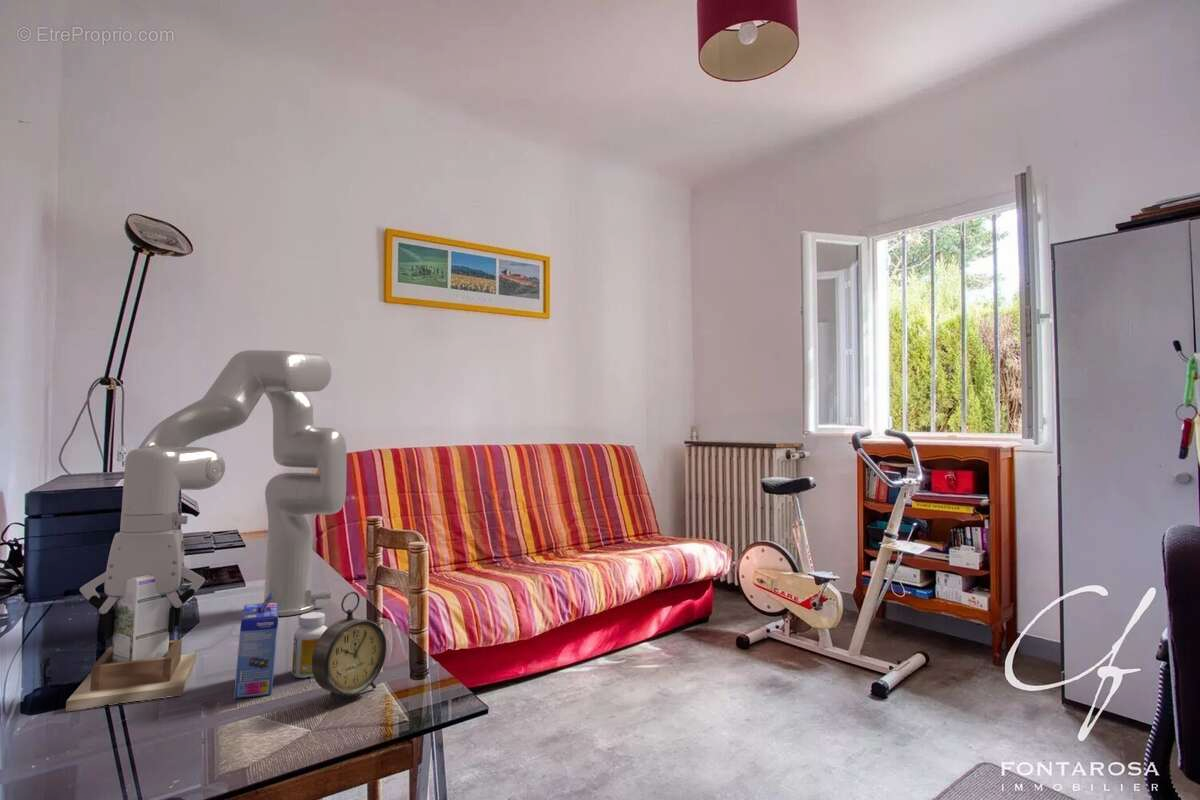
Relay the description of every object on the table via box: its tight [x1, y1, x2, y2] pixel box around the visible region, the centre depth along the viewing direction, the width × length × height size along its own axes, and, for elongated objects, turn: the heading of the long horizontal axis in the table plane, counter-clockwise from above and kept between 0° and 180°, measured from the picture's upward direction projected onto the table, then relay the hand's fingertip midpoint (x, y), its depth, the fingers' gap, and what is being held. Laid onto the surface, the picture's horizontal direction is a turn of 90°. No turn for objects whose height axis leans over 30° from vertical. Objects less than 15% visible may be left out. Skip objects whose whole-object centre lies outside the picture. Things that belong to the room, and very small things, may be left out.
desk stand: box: [65, 639, 198, 712], centre depth 100 cm, size 14×16×5 cm
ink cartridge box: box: [233, 592, 279, 699], centre depth 100 cm, size 10×6×14 cm, turn 28°
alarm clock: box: [312, 591, 387, 709], centre depth 97 cm, size 11×5×16 cm, turn 148°
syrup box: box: [111, 574, 172, 663], centre depth 100 cm, size 6×6×14 cm
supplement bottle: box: [291, 611, 328, 679], centre depth 106 cm, size 5×5×10 cm
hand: (141, 633), depth 100 cm, fingers closed on syrup box, 7 cm apart
